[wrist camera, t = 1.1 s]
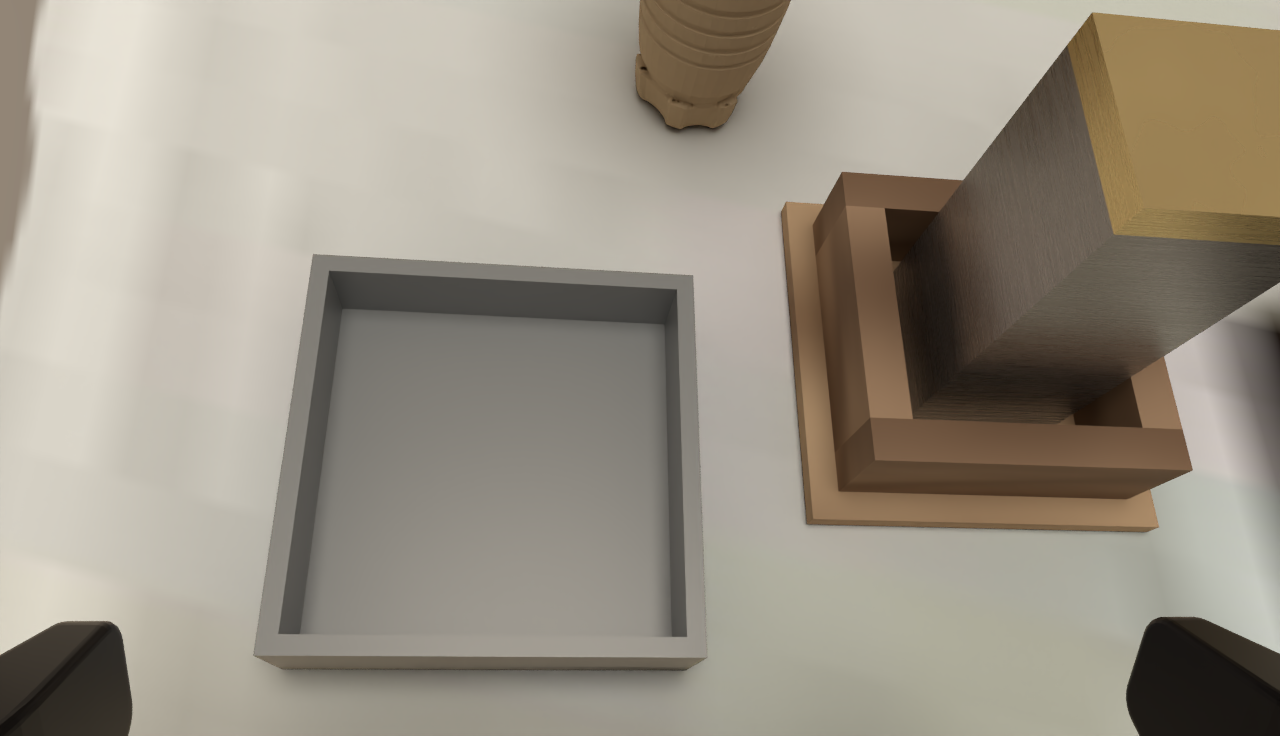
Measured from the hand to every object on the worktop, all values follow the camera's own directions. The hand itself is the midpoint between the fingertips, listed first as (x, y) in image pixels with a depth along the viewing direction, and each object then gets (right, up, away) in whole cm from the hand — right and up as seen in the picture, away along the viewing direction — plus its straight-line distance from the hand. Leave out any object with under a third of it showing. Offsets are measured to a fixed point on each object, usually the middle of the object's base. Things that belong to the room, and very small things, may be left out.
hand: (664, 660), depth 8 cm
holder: (+8, +3, +17) cm, 19 cm away
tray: (-4, 0, +14) cm, 15 cm away
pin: (+8, +3, +17) cm, 19 cm away
